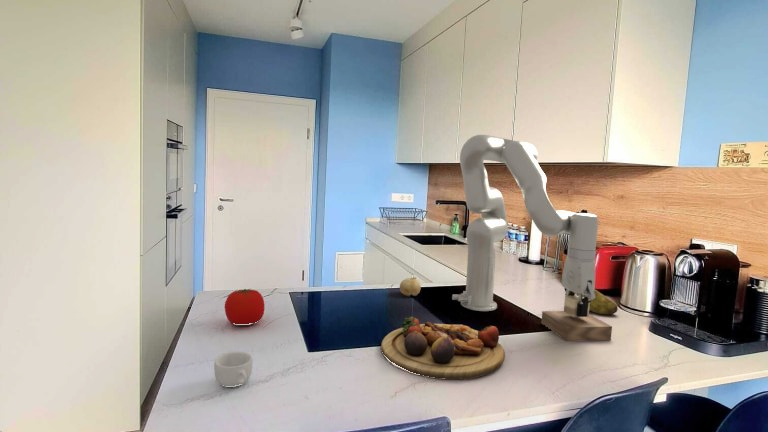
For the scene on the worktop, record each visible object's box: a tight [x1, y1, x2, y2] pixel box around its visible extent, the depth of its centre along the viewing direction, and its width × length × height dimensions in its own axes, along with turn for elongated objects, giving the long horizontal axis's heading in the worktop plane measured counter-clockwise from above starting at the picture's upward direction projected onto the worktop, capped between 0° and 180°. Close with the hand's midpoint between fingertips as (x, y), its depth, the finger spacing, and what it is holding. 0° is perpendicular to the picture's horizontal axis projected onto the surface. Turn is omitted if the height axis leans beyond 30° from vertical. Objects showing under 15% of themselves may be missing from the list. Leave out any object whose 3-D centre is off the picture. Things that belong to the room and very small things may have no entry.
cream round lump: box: [399, 276, 422, 297], centre depth 160 cm, size 8×8×7 cm
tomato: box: [224, 288, 265, 324], centre depth 124 cm, size 11×12×10 cm
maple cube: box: [563, 295, 590, 317], centre depth 128 cm, size 5×5×5 cm
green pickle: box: [576, 288, 619, 315], centre depth 148 cm, size 8×13×8 cm, turn 33°
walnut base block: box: [541, 310, 613, 342], centre depth 128 cm, size 14×14×4 cm
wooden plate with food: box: [380, 316, 506, 380], centre depth 110 cm, size 32×32×8 cm
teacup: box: [213, 351, 253, 386], centre depth 90 cm, size 10×8×5 cm
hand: (575, 312), depth 128 cm, fingers closed on maple cube, 5 cm apart
